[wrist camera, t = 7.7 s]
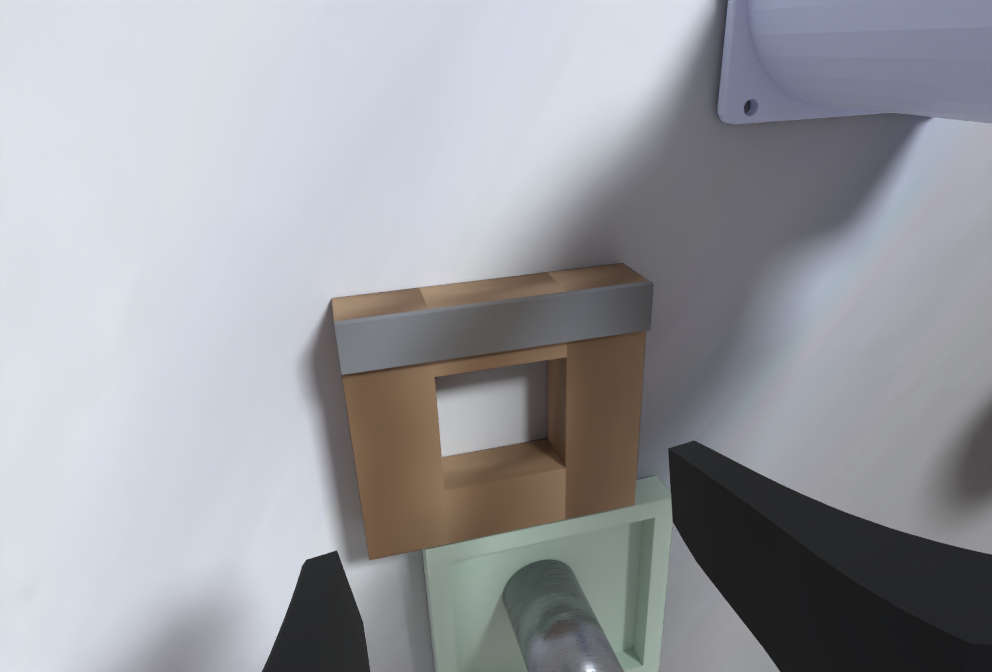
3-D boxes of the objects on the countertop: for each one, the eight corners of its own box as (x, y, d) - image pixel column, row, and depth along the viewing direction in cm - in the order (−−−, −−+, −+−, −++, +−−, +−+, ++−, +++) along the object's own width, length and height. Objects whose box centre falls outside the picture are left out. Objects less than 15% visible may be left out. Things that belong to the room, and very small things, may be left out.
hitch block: (622, 263, 23) (652, 284, 21) (613, 474, 27) (638, 510, 25) (331, 298, 21) (334, 325, 19) (365, 523, 24) (370, 566, 22)
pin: (574, 531, 27) (653, 674, 21) (598, 601, 29) (676, 750, 23) (474, 576, 26) (525, 735, 20) (506, 644, 28) (561, 807, 22)
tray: (657, 475, 27) (674, 497, 26) (643, 647, 31) (658, 673, 30) (419, 523, 25) (425, 549, 24) (438, 701, 29) (444, 732, 28)
